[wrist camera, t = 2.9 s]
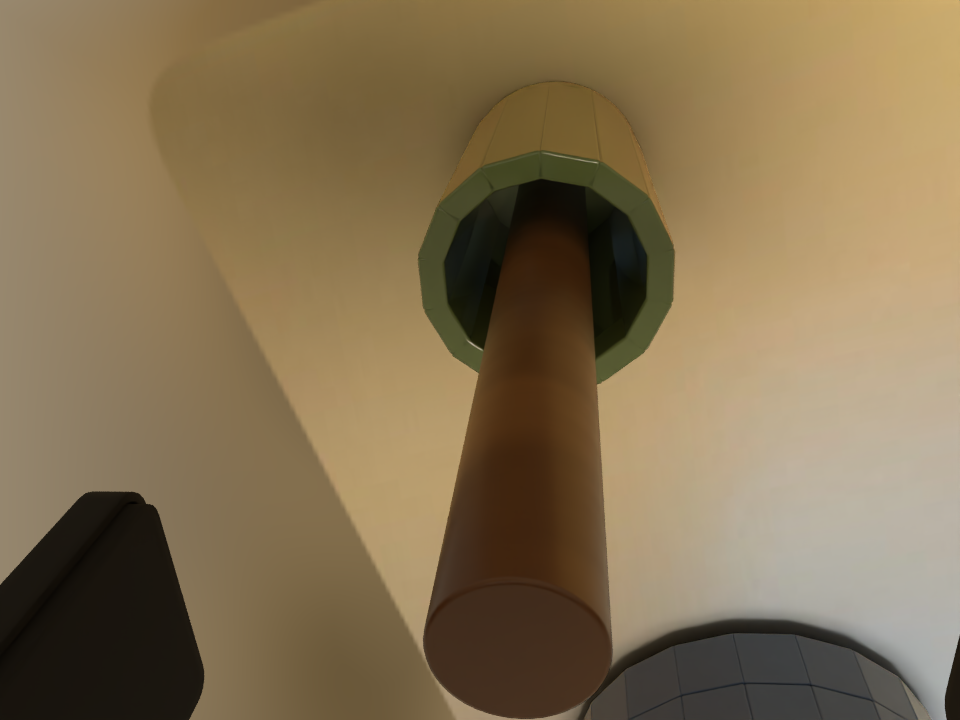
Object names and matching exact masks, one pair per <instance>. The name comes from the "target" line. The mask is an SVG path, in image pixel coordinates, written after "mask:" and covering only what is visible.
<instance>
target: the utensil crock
mask: <svg viewBox="0 0 960 720" xmlns="http://www.w3.org/2000/svg"><path fill="white" fill-rule="evenodd" d="M539 179H544V180H550V181H556V182H561V183H567V184H572V185H578V186H583V187H585V193H586V210H587V227H588V244H589V261H590V278H591V294H592V311H593V328H594V345H595V362H596V379H597V384H600V383H602V381H605V380H606V379H608V378H609V377H611V376H612V375H613V374H615V373H616V372H618V371H619V370H620V369H622V368H623V367H625V366H626V365H627V364H629V363H630V362H632V361H633V360H634V359H636V358H637V357H639V356H640V355H641V354H643V353H644V352H645V350H646V349H648V347H649V345H650V344H651V342H652V340H653V338H654V337H655V335H656V333H657V331H658V329H659V328H660V326H661V324H662V322H663V320H664V319H665V317H666V315H667V313H668V312H669V310H670V308H671V306H672V302H673V294H674V266H675V250H674V244H673V241H672V238H671V236H670V233H669V230H668V227H667V224H666V221H665V218H664V215H663V212H662V209H661V206H660V203H659V200H658V197H657V194H656V191H655V189H654V186H653V183H652V180H651V177H650V174H649V171H648V168H647V165H646V162H645V159H644V156H643V153H642V150H641V148H640V146H639V144H638V142H637V140H636V138H635V135H634V132H633V130H632V128H631V126H630V124H629V123H628V121H627V119H626V118H625V117H624V115H623V114H622V113H621V111H620V110H619V109H618V108H617V107H616V106H615V105H614V104H613V103H612V102H610V101H609V100H608V99H607V98H606V97H604V96H602V95H601V94H599V93H598V92H596V91H594V90H592V89H589V88H587V87H585V86H581V85H578V84H575V83H568V82H553V81H550V82H542V83H537V84H533V85H529V86H526V87H524V88H521V89H519V90H517V91H515V92H513V93H511V94H510V95H508V96H506V97H505V98H504V99H502V100H501V101H500V102H499V103H497V104H496V105H495V106H494V107H493V108H492V109H491V110H490V111H489V113H488V114H487V115H486V117H485V118H484V119H483V120H482V121H481V122H480V124H479V125H478V126H477V128H476V130H475V132H474V134H473V136H472V138H471V140H470V142H469V144H468V146H467V148H466V150H465V152H464V154H463V156H462V158H461V160H460V162H459V164H458V166H457V168H456V170H455V172H454V174H453V176H452V178H451V180H450V182H449V183H448V185H447V187H446V189H445V191H444V193H443V195H442V197H441V199H440V201H439V203H438V205H437V207H436V210H435V212H434V215H433V217H432V220H431V223H430V225H429V228H428V230H427V233H426V236H425V238H424V241H423V243H422V246H421V249H420V251H419V254H418V256H419V258H418V267H419V276H420V285H421V295H422V304H423V308H424V309H425V314H426V315H427V317H428V318H429V320H430V321H431V323H432V325H433V326H434V328H435V329H436V331H437V333H438V334H439V336H440V337H441V339H442V340H443V342H444V344H445V345H446V347H447V348H448V350H449V352H450V353H451V354H452V355H453V357H455V358H457V359H458V360H460V361H461V362H463V363H464V364H466V365H467V366H469V367H470V368H472V369H473V370H475V371H476V372H478V373H479V370H480V365H481V361H482V356H483V351H484V347H485V342H486V337H487V333H488V328H489V323H490V318H491V314H492V309H493V304H494V300H495V295H496V290H497V286H498V281H499V276H500V272H501V267H502V262H503V257H504V253H505V248H506V243H507V239H508V234H509V229H510V225H511V220H512V215H513V210H514V206H515V201H516V196H517V192H518V187H519V185H521V184H524V183H528V182H532V181H535V180H539Z"/></svg>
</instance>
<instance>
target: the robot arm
mask: <svg viewBox="0 0 960 720" xmlns="http://www.w3.org/2000/svg"><path fill="white" fill-rule="evenodd" d="M203 683H204V669H203V664H202V660H201V657H200V653H199V650H198V647H197V643H196V640H195V636H194V633H193V629H192V626H191V623H190V620H189V616H188V612H187V609H186V606H185V602H184V599H183V595H182V592H181V589H180V585H179V582H178V578H177V575H176V572H175V568H174V565H173V561H172V558H171V554H170V551H169V547H168V544H167V541H166V537H165V534H164V530H163V527H162V524H161V520H160V517H159V514H158V511H157V509H156V508H155V507H154V506H153V505H150V504H146V503H145V500H144V498H143V497H142V496H141V495H140V494H138V493H135V492H88V493H85V494H84V495H83V496H81V497H80V498H79V499H78V500H77V501H76V502H75V503H74V505H73V506H72V507H71V508H70V509H69V510H68V511H67V512H66V513H65V514H64V516H63V517H62V518H61V519H60V520H59V521H58V522H57V523H56V524H55V526H54V527H53V528H52V529H51V530H50V531H49V532H48V533H47V534H46V535H45V536H44V537H43V539H42V540H41V541H40V542H39V543H38V544H37V545H36V546H35V547H34V548H33V550H32V551H31V552H30V553H29V554H28V555H27V556H26V557H25V558H24V559H23V561H22V562H21V563H20V564H19V565H18V566H17V567H16V568H15V569H14V570H13V571H12V573H11V574H10V575H9V576H8V577H7V578H6V579H5V580H4V581H3V582H2V584H1V585H0V720H189V719H190V717H191V715H192V713H193V711H194V709H195V707H196V705H197V703H198V701H199V699H200V696H201V693H202V689H203ZM945 711H946V718H947V720H960V636H959V641H958V645H957V649H956V653H955V657H954V661H953V665H952V669H951V673H950V677H949V681H948V686H947V690H946V695H945Z"/></svg>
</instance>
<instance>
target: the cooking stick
mask: <svg viewBox="0 0 960 720" xmlns="http://www.w3.org/2000/svg"><path fill="white" fill-rule="evenodd" d="M423 647H424V652H425V656H426V659H427V662H428V665H429V667H430V669H431V671H432V673H433V674H434V676H435V678H436V679H437V680H438V681H439V683H440V684H441V685H442V686H443V687H444V688H445V689H446V690H447V691H448V692H449V693H450V694H452V695H453V696H454V697H456V698H457V699H459V700H460V701H462V702H463V703H465V704H467V705H469V706H471V707H473V708H475V709H478V710H480V711H483V712H486V713H489V714H493V715H496V716H501V717H507V718H518V719H534V718H543V717H548V716H553V715H557V714H560V713H563V712H566V711H568V710H570V709H573V708H575V707H577V706H578V705H580V704H582V703H583V702H585V701H586V700H587V699H588V698H590V697H591V696H592V695H593V694H594V693H595V692H596V691H597V690H598V689H599V687H600V686H601V685H602V683H603V682H604V680H605V678H606V676H607V674H608V672H609V669H610V666H611V662H612V654H613V649H612V632H611V615H610V598H609V581H608V565H607V548H606V531H605V514H604V497H603V480H602V463H601V446H600V429H599V413H598V396H597V379H596V362H595V345H594V328H593V311H592V294H591V278H590V261H589V244H588V227H587V210H586V193H585V187H583V186H578V185H572V184H567V183H561V182H556V181H550V180H544V179H539V180H535V181H532V182H528V183H524V184H521V185H519V187H518V192H517V196H516V201H515V206H514V210H513V215H512V220H511V225H510V229H509V234H508V239H507V243H506V248H505V253H504V257H503V262H502V267H501V272H500V276H499V281H498V286H497V290H496V295H495V300H494V304H493V309H492V314H491V318H490V323H489V328H488V333H487V337H486V342H485V347H484V351H483V356H482V361H481V365H480V370H479V375H478V380H477V384H476V389H475V394H474V398H473V403H472V408H471V412H470V417H469V422H468V427H467V431H466V436H465V441H464V445H463V450H462V455H461V459H460V464H459V469H458V474H457V478H456V483H455V488H454V492H453V497H452V502H451V506H450V511H449V516H448V520H447V525H446V530H445V535H444V539H443V544H442V549H441V553H440V558H439V563H438V567H437V572H436V577H435V582H434V586H433V591H432V596H431V600H430V605H429V610H428V614H427V619H426V624H425V629H424V636H423Z"/></svg>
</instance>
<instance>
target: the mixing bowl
mask: <svg viewBox="0 0 960 720" xmlns="http://www.w3.org/2000/svg"><path fill="white" fill-rule="evenodd" d="M584 720H931V718H930V716H929V714H928V711H927V710H926V709H925V708H924V707H923V705H922V704H921V703H920V702H919V700H918V699H917V698H916V697H915V696H914V694H913V693H912V692H911V691H910V689H909V688H908V687H907V686H906V685H905V683H904V682H903V681H902V680H901V679H900V677H898V676H896V675H895V674H893V673H891V672H890V671H888V670H886V669H885V668H883V667H881V666H879V665H878V664H876V663H874V662H873V661H871V660H869V659H868V658H866V657H864V656H862V655H861V654H859V653H857V652H856V651H854V650H852V649H849V648H845V647H842V646H838V645H834V644H830V643H826V642H822V641H819V640H815V639H811V638H807V637H803V636H800V635H794V634H757V633H733V634H732V633H730V634H726V635H721V636H716V637H711V638H707V639H702V640H697V641H693V642H688V643H683V644H679V645H675V646H671V647H669V648H667V649H665V650H663V651H661V652H659V653H657V654H655V655H653V656H651V657H649V658H647V659H645V660H643V661H641V662H639V663H637V664H635V665H633V666H631V667H629V668H627V669H626V670H625V671H623V672H622V673H621V674H620V675H619V676H618V677H617V678H616V679H615V680H614V681H613V682H612V683H611V684H610V685H609V686H608V687H607V688H606V689H605V690H603V691H602V692H601V693H600V694H599V695H598V696H597V697H596V698H595V699H594V700H593V701H592V703H591V704H590V706H589V709H588V711H587V713H586V715H585V717H584Z"/></svg>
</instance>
